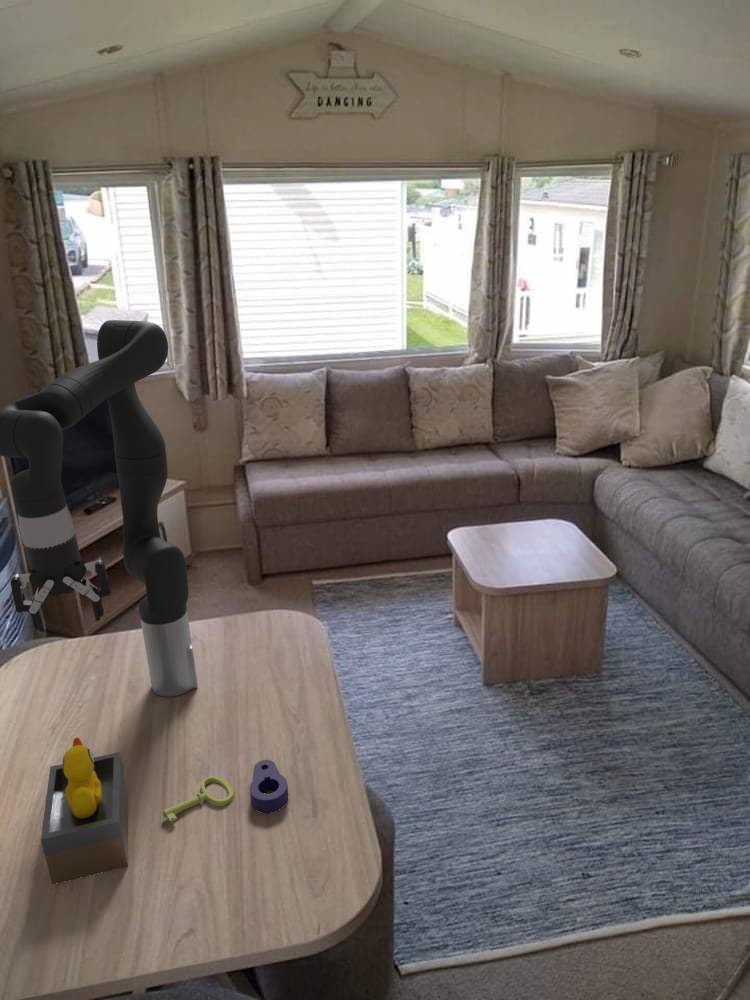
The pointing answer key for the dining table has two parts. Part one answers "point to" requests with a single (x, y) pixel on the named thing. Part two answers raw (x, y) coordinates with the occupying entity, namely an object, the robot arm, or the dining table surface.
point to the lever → (268, 788)
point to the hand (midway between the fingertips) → (70, 623)
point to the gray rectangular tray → (86, 825)
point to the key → (201, 798)
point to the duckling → (81, 780)
